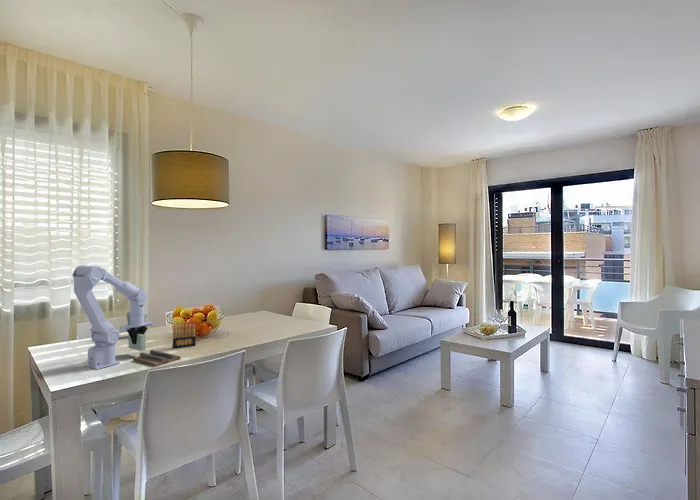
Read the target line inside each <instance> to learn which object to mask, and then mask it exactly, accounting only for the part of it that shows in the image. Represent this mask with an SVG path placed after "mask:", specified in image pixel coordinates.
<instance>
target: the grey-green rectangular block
mask: <svg viewBox="0 0 700 500" xmlns="http://www.w3.org/2000/svg"><path fill="white" fill-rule="evenodd" d="M146 336H147V335H146V334H144V335H143V334H139V333H137V342H136V344H132V340H131V337H130V335H129V334H128V348H129V349H132V350H136V351H140V352H143V351H146V347H147V346H146V345H147V344H146V342H147V341H146V340H147V339H146Z"/></svg>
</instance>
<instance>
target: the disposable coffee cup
mask: <svg viewBox="0 0 700 500" xmlns="http://www.w3.org/2000/svg"><path fill="white" fill-rule="evenodd" d="M148 314H149V311H148V309H144V322H147V316H148ZM125 316H126V320H127V325H128V324H130V310H128V311H127V312H126V315H125ZM135 329H136V328H135Z"/></svg>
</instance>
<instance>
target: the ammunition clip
mask: <svg viewBox="0 0 700 500" xmlns="http://www.w3.org/2000/svg"><path fill="white" fill-rule="evenodd" d="M173 325H174V326H173V328H172V329H173V330H172V349H173V348H174V349H181V347H182V348H187V347H196V345H197V344H196V343H197V342H196V328H195V327H196V325H195V322H193V323H192V324H191V322H190V323H189V324H187V323H185V324H183V323H181V327H180V323H178V324H177V327H176V323H175V324H173Z"/></svg>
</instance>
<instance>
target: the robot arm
mask: <svg viewBox="0 0 700 500" xmlns="http://www.w3.org/2000/svg"><path fill="white" fill-rule="evenodd" d="M71 277H72V278H73V292H74V295H75V296H76V298H77V300H78V302H79V304H80V306H81V307H82V309H83V311H84V314H85V316H87V319H88V321H89V323H90V324H91V326H92V327H91V328H90V329H89V332H90V333H91V336H90V337H91V340H92V341H93V342H94V345H93V346H91V347H89V348H88V350H87V365H86V367H88V368H91V369H93V370H101V369H103V368H107V367H111V366H115V365H118V364H120V363H121V362H120V361H117V360H116V344H117V342H118V340H120V331H121V332H125V331H126V332H127V334H128V336H129V335H130V337H131V340H132V344H136V342H137V333H139V334H143V335H146V334H145V333H146V332H147V330H148V327H150V326H154V321H152V320H149V321H148V320H146V322H144V310H145V304H146V300H147V299H148V294H147V291H146V290H145V289H143V288H142V289H141V288H139V286H137V285H134V284H132V283H131V281H130V280H121V279H119V278H118V277H117V276H115V275H113V274H112V273H110V272H109V271H107V270H106V269H105V268H103V267H102V266H100V265H85V264H84V265H83V264H81V265H78V266H76V267H75V269H74V271H73V273H72V274H71ZM100 281H103V282H104V283H107V284H109V285H111V286H113V287H115V288H116V291H117V292H118V293H120V294H122V295H123V296H125V297H126V298H127V300H128V301H129V308H130V309H129V311H130V324H128V323H127V324H125V325H122V326H121V325H120V326H119V330H117V329H116V328H115V327H114V325H113V324H111V323H110V322H109V321H108V320H107V318H106V316H105V314H104V311H103V310H102V308H101V307H100V304H99V302H98V300H97V298H96V296H95V294H94V292H93V289H94V288H95V286H96V285H98V283H99V282H100ZM135 328H136V329H135Z"/></svg>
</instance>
